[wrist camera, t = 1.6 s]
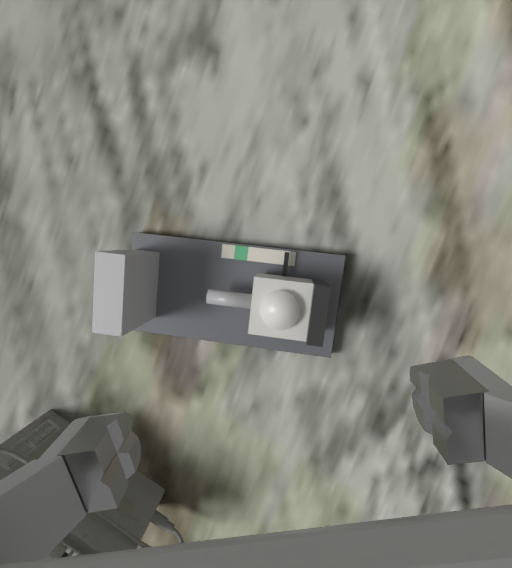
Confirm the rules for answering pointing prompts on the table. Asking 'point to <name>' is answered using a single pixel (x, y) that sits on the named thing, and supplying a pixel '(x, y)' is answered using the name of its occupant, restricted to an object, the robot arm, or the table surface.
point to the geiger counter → (96, 525)
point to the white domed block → (282, 306)
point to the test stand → (200, 289)
